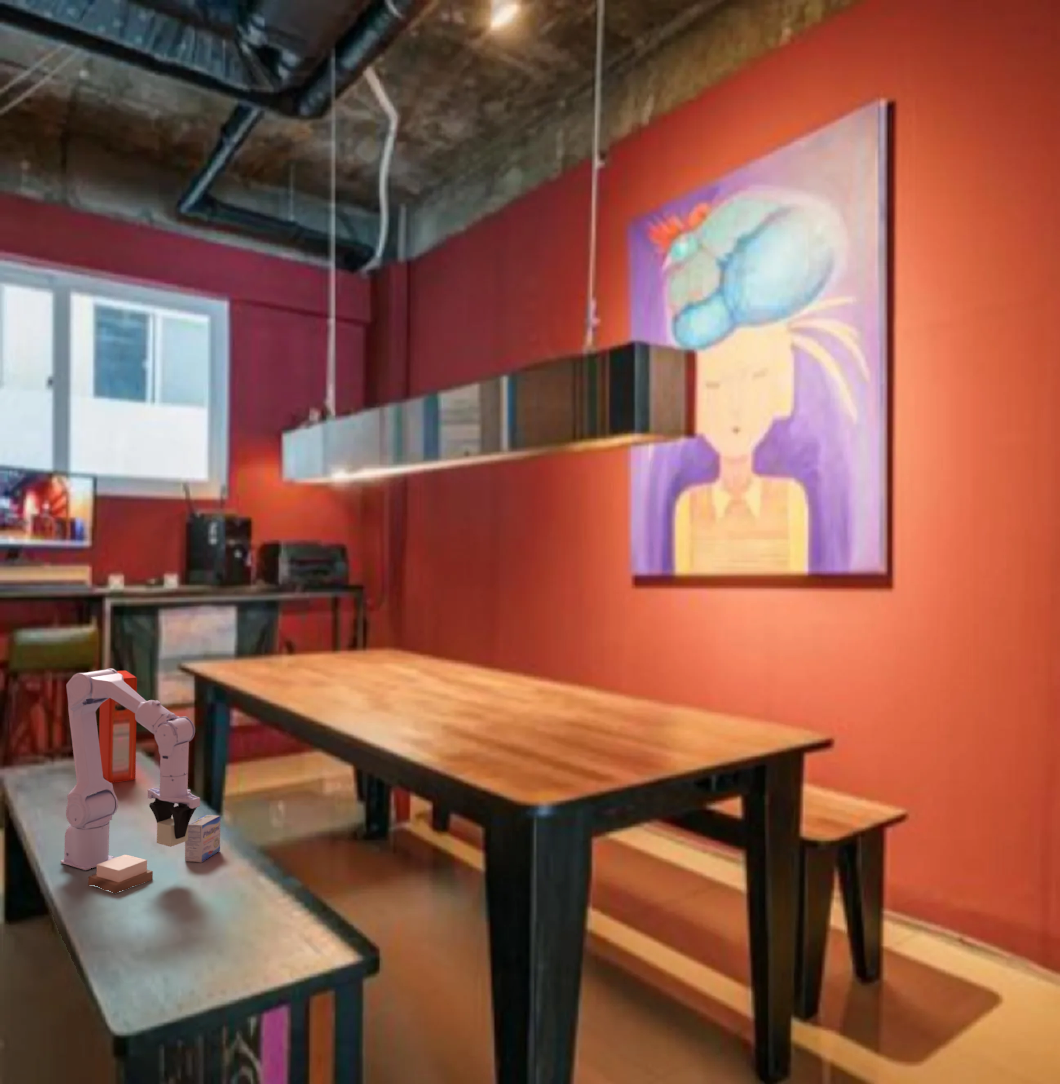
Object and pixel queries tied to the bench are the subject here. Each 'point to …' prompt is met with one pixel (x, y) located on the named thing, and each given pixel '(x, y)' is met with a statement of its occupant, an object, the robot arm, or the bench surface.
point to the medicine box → (203, 838)
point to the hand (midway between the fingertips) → (172, 835)
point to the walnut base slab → (121, 885)
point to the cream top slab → (121, 868)
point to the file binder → (118, 737)
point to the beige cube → (168, 833)
